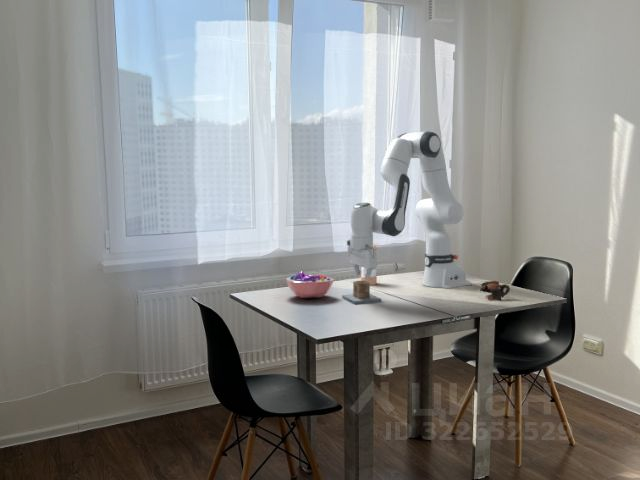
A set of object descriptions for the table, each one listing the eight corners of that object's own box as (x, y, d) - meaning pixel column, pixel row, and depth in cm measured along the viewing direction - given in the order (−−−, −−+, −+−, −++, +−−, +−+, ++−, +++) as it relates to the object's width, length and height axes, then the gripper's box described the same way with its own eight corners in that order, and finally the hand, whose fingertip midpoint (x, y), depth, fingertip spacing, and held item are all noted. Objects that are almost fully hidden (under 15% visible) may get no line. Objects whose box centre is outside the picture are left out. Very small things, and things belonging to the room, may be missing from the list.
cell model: (329, 303, 258) (329, 275, 256) (281, 301, 262) (281, 274, 260) (337, 294, 274) (337, 268, 272) (291, 292, 278) (291, 266, 276)
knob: (364, 295, 266) (364, 279, 266) (369, 297, 262) (369, 281, 261) (353, 296, 265) (353, 280, 264) (358, 298, 260) (358, 282, 259)
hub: (368, 295, 271) (368, 282, 270) (381, 301, 260) (381, 287, 259) (342, 298, 267) (342, 284, 266) (354, 304, 256) (354, 290, 255)
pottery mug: (480, 301, 262) (477, 282, 265) (484, 307, 270) (481, 288, 273) (510, 296, 258) (506, 276, 261) (513, 301, 266) (510, 282, 269)
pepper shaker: (376, 282, 299) (377, 241, 296) (376, 285, 291) (376, 243, 289) (361, 281, 299) (361, 241, 297) (360, 285, 292) (360, 243, 290)
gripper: (380, 246, 252) (381, 280, 254) (358, 239, 271) (359, 271, 273) (366, 247, 249) (366, 282, 252) (344, 240, 268) (345, 273, 270)
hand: (362, 276), depth 262 cm, fingers open, 8 cm apart
